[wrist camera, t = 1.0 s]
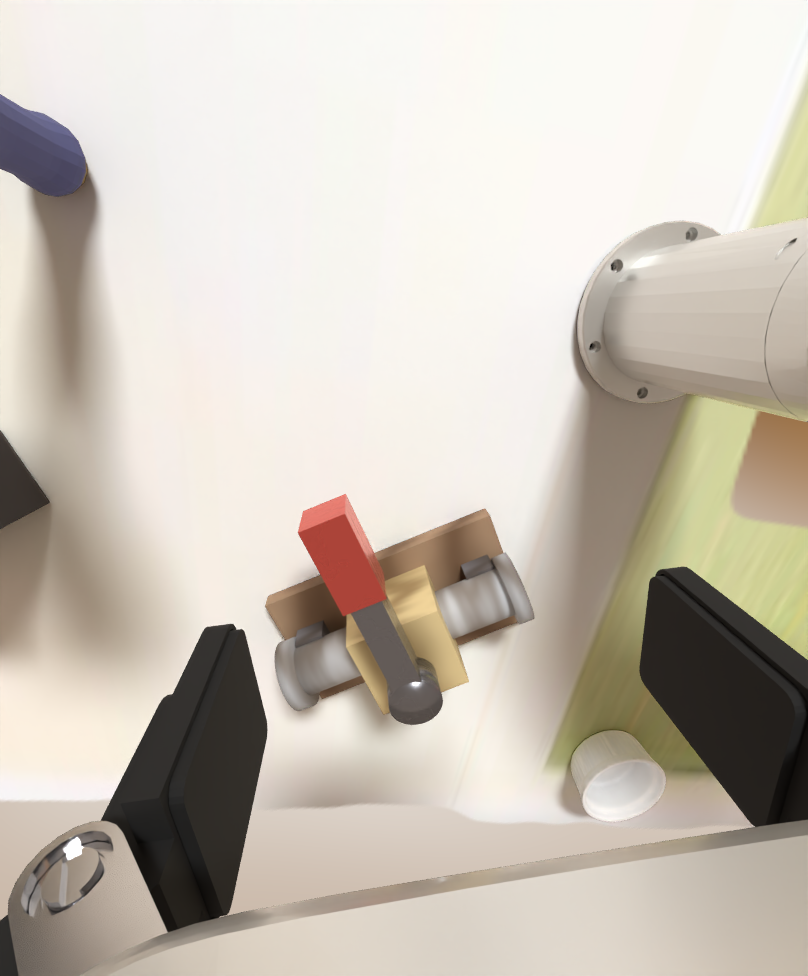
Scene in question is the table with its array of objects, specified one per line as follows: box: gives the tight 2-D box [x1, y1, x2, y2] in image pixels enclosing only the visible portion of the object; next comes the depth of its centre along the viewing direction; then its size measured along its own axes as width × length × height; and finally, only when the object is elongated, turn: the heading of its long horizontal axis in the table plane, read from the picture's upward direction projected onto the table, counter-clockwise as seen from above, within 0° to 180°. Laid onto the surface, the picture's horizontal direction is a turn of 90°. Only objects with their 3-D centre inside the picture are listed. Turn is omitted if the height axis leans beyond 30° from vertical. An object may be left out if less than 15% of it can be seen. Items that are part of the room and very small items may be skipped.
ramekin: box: [571, 730, 666, 822], centre depth 50 cm, size 9×9×4 cm
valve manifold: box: [265, 509, 534, 715], centre depth 38 cm, size 20×11×9 cm, turn 112°
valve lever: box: [298, 494, 443, 725], centre depth 30 cm, size 16×4×3 cm, turn 22°
